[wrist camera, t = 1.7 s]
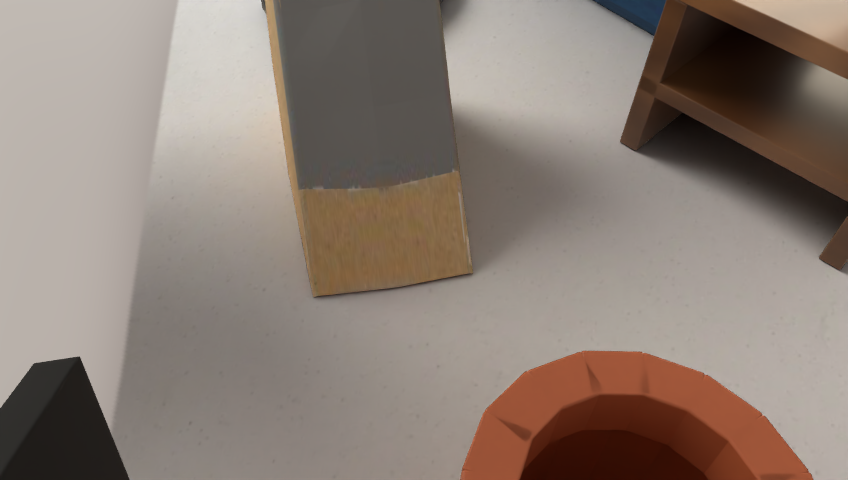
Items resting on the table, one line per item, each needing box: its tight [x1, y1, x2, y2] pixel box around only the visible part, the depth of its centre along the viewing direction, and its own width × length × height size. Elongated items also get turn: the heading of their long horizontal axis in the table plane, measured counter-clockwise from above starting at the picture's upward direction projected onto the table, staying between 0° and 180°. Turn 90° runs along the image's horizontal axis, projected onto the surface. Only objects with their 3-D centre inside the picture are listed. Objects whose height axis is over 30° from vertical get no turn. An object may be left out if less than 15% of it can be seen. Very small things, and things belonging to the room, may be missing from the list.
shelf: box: [620, 0, 848, 270], centre depth 42 cm, size 14×14×11 cm
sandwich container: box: [265, 0, 473, 297], centre depth 37 cm, size 9×15×15 cm, turn 13°
